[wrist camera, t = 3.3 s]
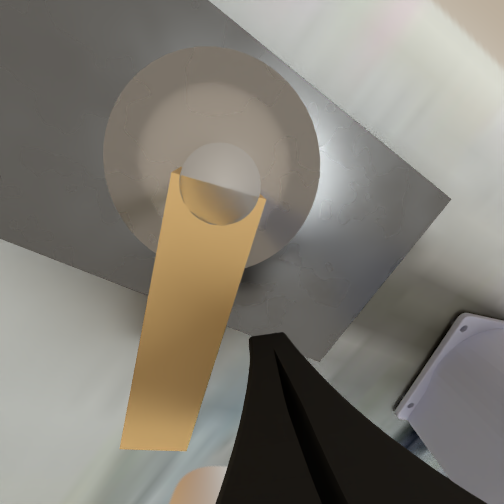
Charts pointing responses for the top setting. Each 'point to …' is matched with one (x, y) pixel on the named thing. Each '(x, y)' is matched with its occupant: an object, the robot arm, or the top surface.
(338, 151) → the silver metal slab
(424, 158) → the top surface
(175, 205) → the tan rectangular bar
